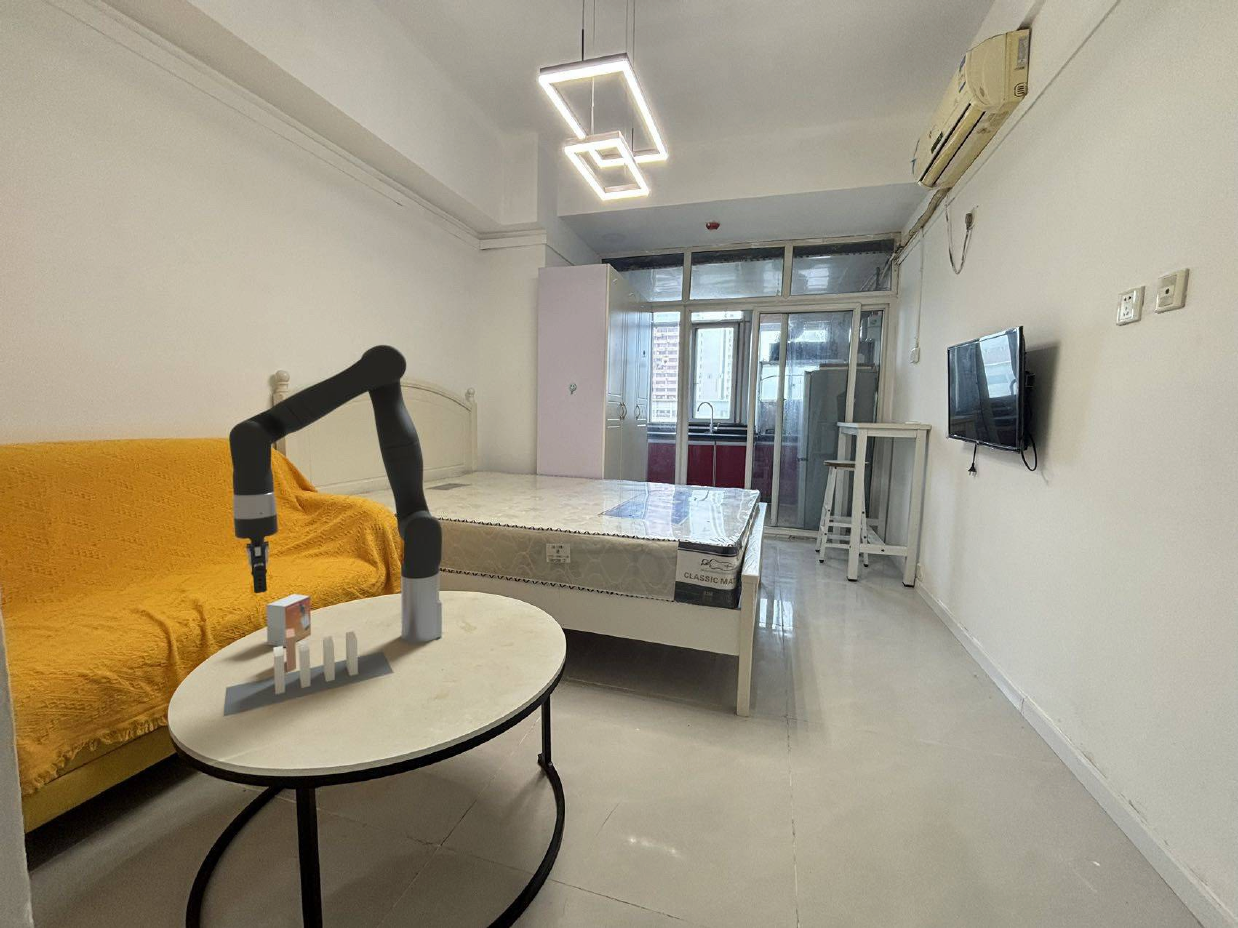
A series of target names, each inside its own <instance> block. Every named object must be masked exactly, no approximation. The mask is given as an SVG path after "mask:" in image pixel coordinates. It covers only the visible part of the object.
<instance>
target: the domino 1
mask: <svg viewBox="0 0 1238 928" xmlns="http://www.w3.org/2000/svg"><path fill="white" fill-rule="evenodd" d="M284 654H285V653H284V647H283V646H273V667H274V668H273V669H274V671H273V672H274V676H275V694H280V693H284V692H285V678H284V674H285V658H284V657H285V656H284Z"/></svg>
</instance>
